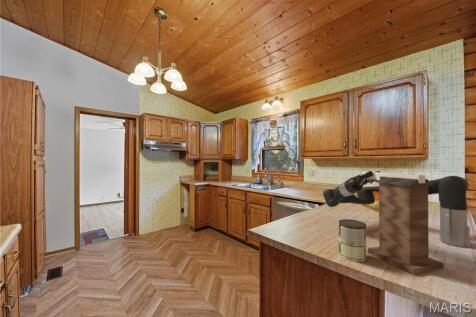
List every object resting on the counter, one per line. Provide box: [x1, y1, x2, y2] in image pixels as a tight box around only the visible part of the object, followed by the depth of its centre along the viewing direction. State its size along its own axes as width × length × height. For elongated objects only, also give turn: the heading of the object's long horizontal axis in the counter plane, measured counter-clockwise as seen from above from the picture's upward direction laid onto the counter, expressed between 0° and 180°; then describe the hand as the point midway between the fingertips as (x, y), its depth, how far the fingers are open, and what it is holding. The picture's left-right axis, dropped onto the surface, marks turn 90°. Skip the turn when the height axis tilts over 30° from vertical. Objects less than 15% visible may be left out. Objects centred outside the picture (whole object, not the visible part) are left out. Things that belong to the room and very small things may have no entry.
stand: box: [367, 177, 445, 276], centre depth 83 cm, size 18×16×34 cm
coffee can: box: [338, 218, 367, 263], centre depth 86 cm, size 10×10×14 cm
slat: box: [362, 171, 426, 183], centre depth 88 cm, size 24×4×3 cm, turn 16°
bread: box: [361, 191, 379, 213], centre depth 174 cm, size 25×12×15 cm, turn 175°
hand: (375, 172), depth 94 cm, fingers open, 4 cm apart
